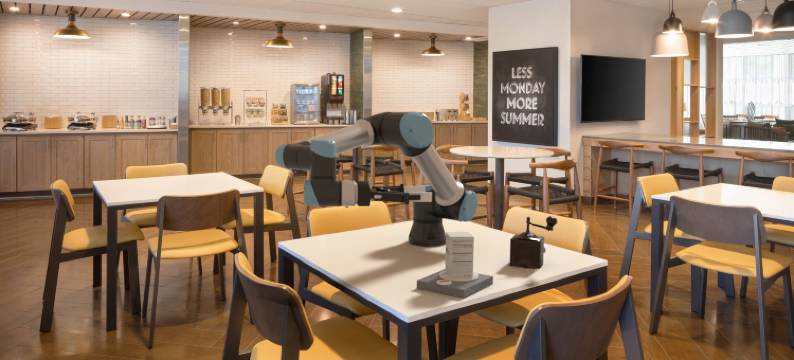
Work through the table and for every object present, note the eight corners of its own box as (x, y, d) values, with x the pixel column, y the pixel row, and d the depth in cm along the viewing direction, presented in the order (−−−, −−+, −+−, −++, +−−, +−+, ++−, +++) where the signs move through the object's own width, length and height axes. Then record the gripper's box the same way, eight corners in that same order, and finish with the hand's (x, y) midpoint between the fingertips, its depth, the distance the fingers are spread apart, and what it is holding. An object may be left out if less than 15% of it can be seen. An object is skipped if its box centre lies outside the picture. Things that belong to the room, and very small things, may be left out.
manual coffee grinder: (507, 266, 212) (509, 214, 210) (514, 259, 222) (515, 209, 220) (554, 271, 206) (557, 217, 204) (559, 263, 216) (561, 212, 214)
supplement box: (444, 271, 193) (445, 231, 191) (468, 271, 193) (469, 231, 192) (448, 278, 185) (449, 236, 184) (473, 278, 186) (474, 236, 185)
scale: (416, 288, 185) (416, 278, 185) (447, 275, 200) (447, 266, 200) (464, 298, 176) (464, 287, 176) (492, 283, 191) (493, 274, 191)
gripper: (355, 199, 197) (422, 200, 199) (357, 213, 172) (434, 213, 174) (355, 176, 196) (422, 176, 198) (358, 186, 171) (435, 186, 173)
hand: (428, 193), depth 186 cm, fingers open, 13 cm apart
